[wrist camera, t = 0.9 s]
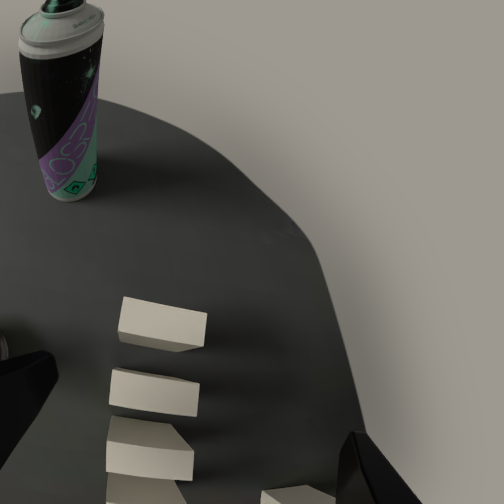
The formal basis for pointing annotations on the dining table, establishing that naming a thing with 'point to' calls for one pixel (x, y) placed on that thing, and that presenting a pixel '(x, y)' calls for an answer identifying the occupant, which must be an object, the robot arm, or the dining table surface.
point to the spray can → (63, 92)
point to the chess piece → (3, 348)
